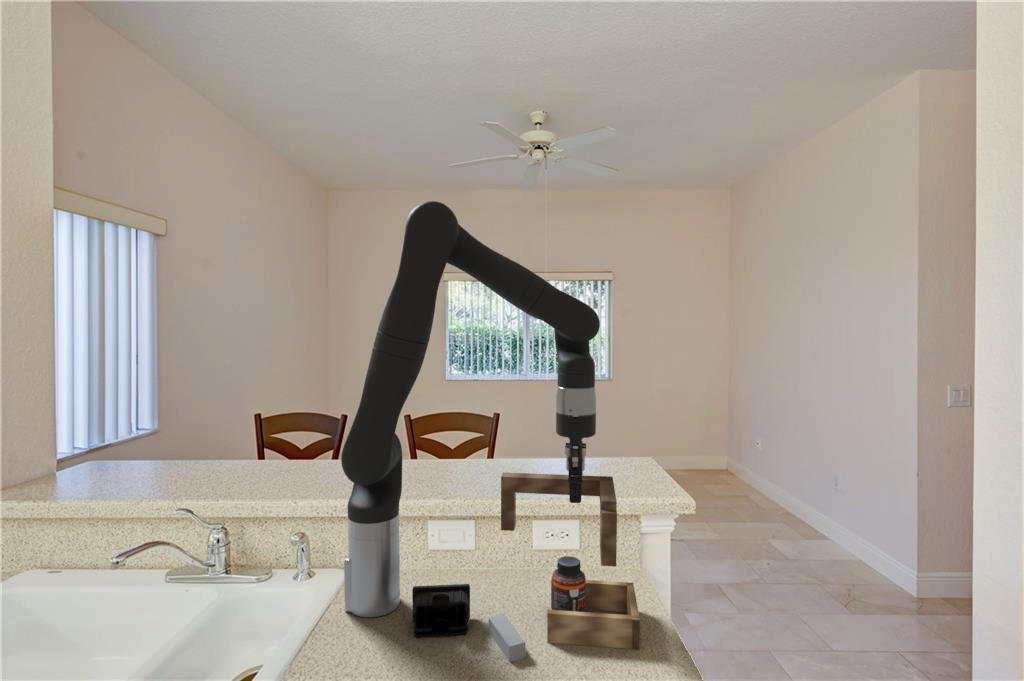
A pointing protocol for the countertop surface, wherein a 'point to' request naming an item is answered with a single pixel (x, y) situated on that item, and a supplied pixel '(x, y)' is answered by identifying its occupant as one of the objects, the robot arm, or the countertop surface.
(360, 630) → the countertop surface
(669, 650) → the countertop surface
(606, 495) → the walnut crook
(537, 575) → the countertop surface
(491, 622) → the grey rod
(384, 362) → the robot arm
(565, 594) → the supplement bottle
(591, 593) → the light wood frame
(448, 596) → the black box
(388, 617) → the countertop surface
